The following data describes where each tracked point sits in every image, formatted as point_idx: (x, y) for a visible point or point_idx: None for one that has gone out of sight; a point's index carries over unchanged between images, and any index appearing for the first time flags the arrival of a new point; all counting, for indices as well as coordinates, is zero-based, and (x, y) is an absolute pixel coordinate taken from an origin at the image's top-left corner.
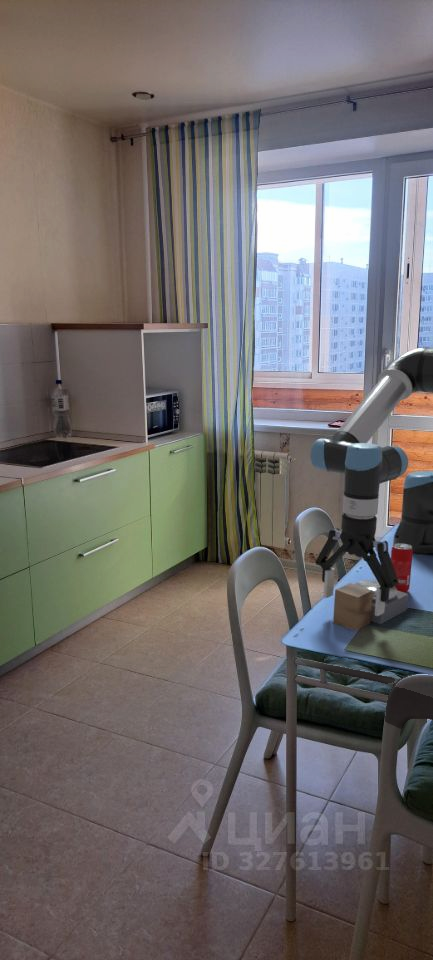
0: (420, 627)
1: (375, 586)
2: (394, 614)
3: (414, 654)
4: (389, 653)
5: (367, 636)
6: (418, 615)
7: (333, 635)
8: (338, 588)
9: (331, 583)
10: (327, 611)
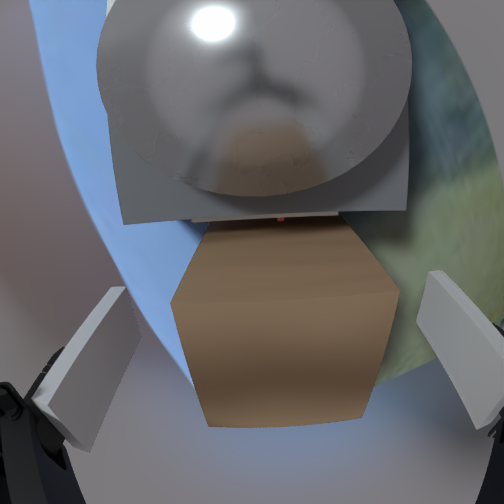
0: (471, 105)
1: (232, 11)
2: None
3: (496, 290)
4: None
5: None
6: (412, 6)
7: None
8: (205, 411)
9: (102, 353)
10: (141, 251)
